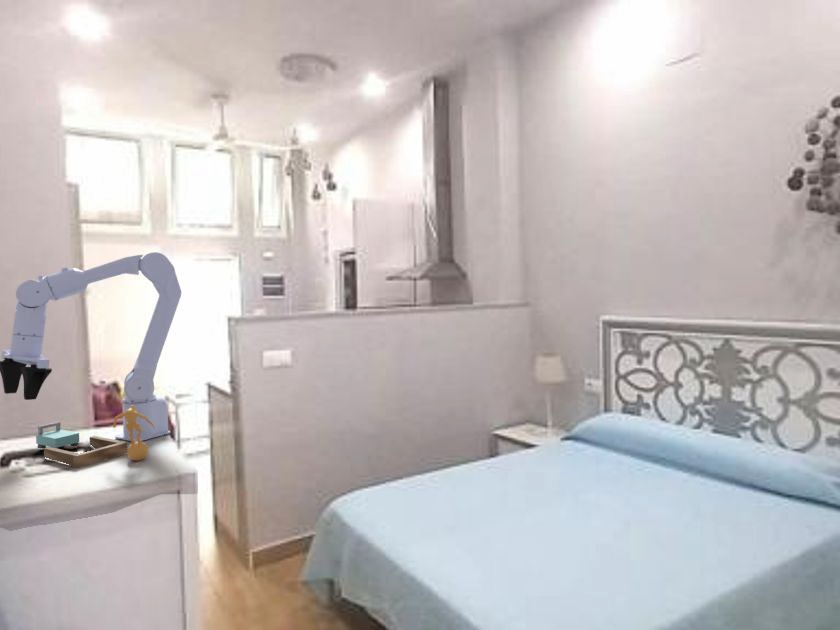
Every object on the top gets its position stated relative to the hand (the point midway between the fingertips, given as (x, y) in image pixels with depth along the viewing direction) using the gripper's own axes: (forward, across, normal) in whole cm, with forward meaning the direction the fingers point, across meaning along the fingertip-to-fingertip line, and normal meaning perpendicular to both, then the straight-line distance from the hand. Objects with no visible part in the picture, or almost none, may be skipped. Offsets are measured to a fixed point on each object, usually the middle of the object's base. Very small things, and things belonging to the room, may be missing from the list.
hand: (20, 396), depth 126 cm
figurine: (+9, +31, +7) cm, 33 cm away
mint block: (+11, +8, +5) cm, 14 cm away
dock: (+10, +18, +5) cm, 21 cm away
